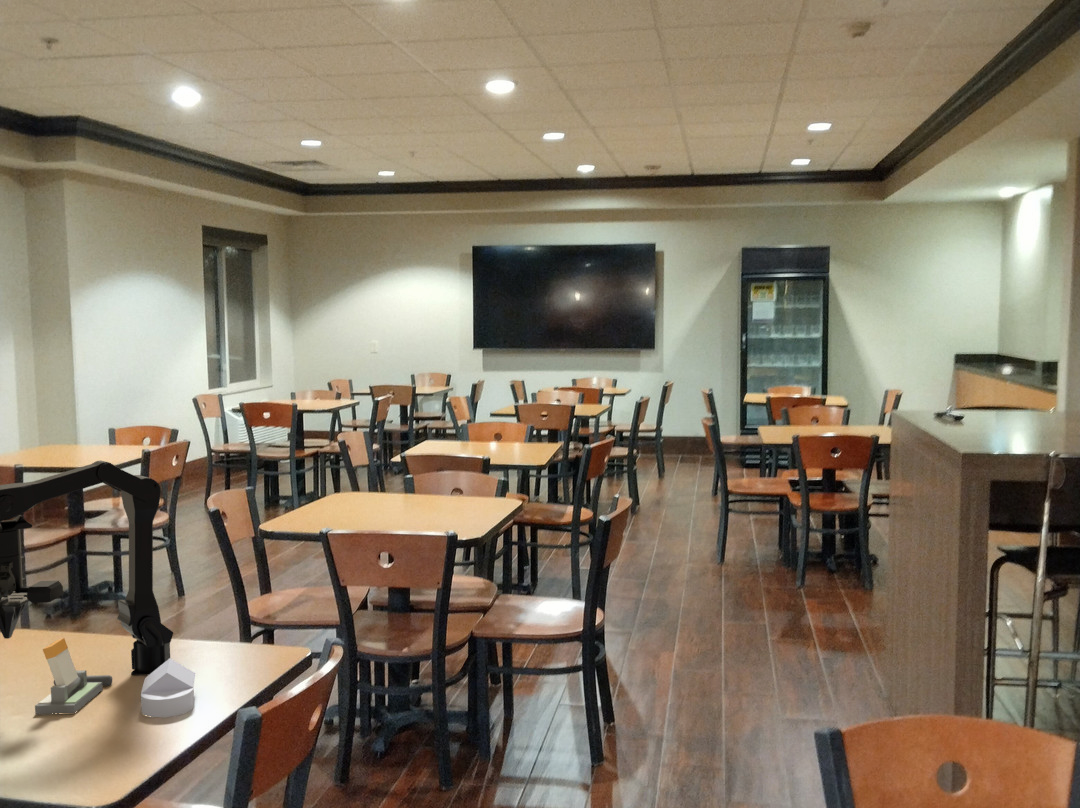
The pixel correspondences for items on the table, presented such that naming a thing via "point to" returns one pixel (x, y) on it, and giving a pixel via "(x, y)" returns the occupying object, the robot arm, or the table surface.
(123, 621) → the robot arm
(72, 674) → the lever
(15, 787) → the table surface
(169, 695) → the wedge on round base
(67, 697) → the panel
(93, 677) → the grey double capsule
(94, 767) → the table surface
